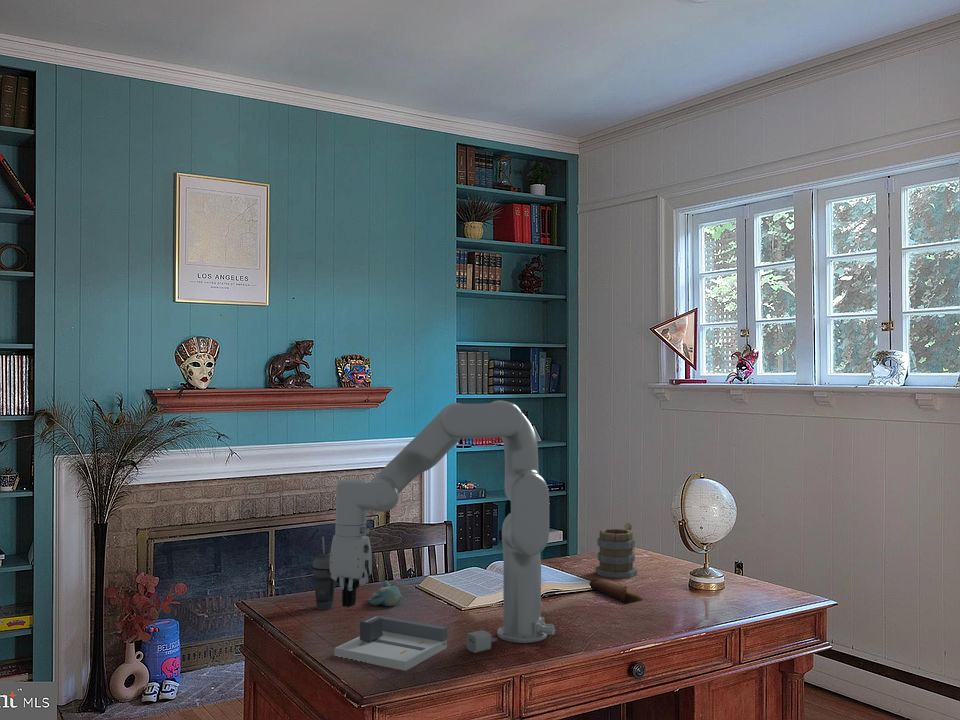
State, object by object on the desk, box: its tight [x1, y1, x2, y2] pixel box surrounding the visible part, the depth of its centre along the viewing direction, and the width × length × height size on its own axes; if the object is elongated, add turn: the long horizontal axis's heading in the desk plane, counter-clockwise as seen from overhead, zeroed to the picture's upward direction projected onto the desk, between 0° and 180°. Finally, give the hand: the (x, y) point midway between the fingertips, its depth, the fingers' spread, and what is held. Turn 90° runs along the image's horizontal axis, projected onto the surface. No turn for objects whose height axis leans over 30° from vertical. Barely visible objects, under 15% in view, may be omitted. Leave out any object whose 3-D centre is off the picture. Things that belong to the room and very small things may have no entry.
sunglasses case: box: [588, 578, 646, 604], centre depth 253 cm, size 18×7×7 cm
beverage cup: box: [311, 535, 336, 611], centre depth 239 cm, size 7×7×20 cm
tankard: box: [594, 522, 638, 579], centre depth 282 cm, size 20×13×15 cm, turn 147°
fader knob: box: [359, 615, 382, 642], centre depth 204 cm, size 3×5×4 cm, turn 151°
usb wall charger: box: [466, 629, 498, 654], centre depth 204 cm, size 4×7×4 cm, turn 125°
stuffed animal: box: [367, 580, 403, 607], centre depth 244 cm, size 11×7×12 cm
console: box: [334, 615, 448, 672], centre depth 201 cm, size 20×18×5 cm
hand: (348, 605), depth 207 cm, fingers closed
